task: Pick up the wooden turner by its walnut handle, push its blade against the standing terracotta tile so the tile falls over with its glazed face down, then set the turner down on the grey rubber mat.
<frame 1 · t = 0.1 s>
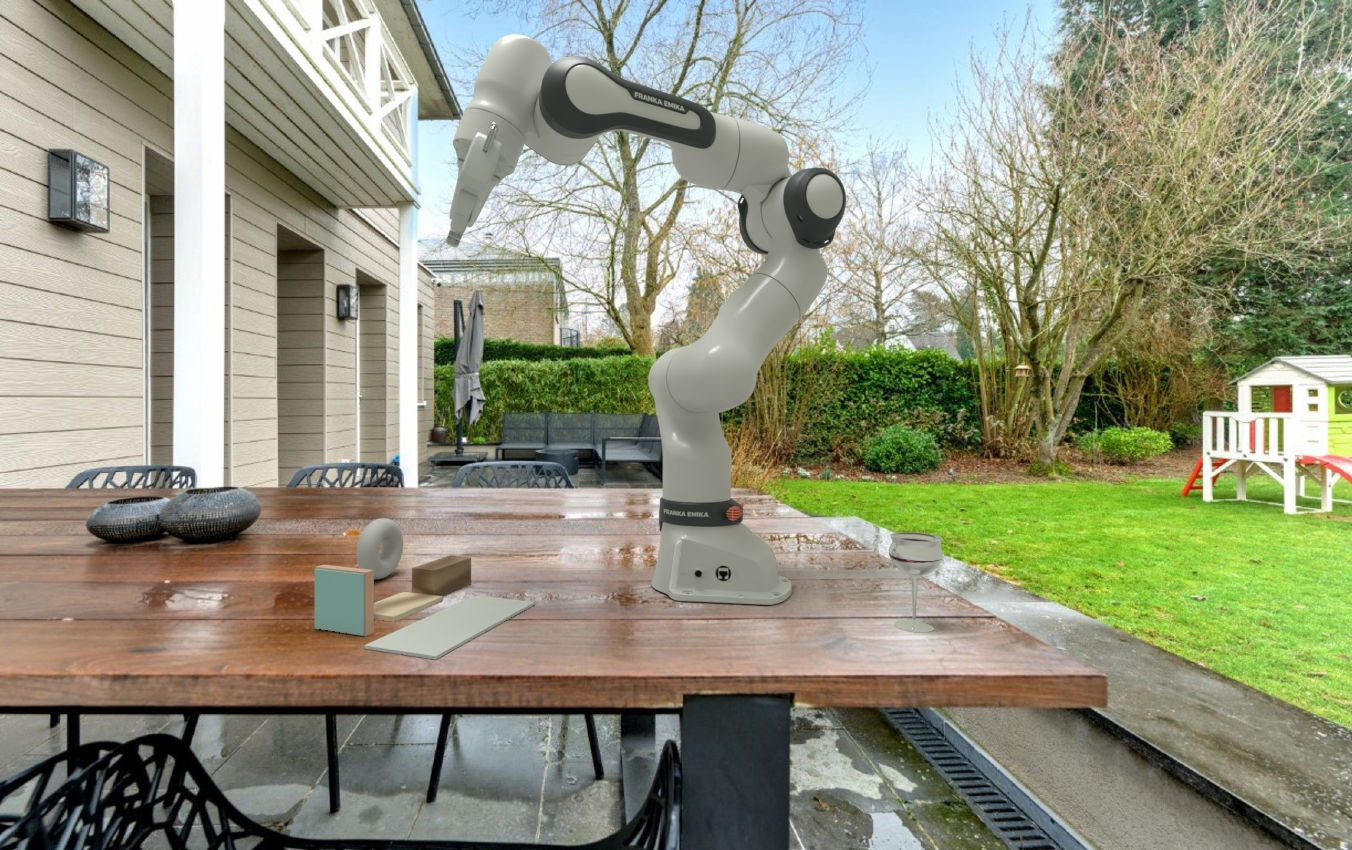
hand: (453, 237, 91), 52 cm above the table, tool tilted 20°, fingers open, 8 cm apart
turner: (442, 591, 102), on the table
tile: (343, 631, 83), on the table
wineglass: (913, 627, 88), on the table
mat: (458, 624, 86), on the table
donut: (380, 579, 108), on the table
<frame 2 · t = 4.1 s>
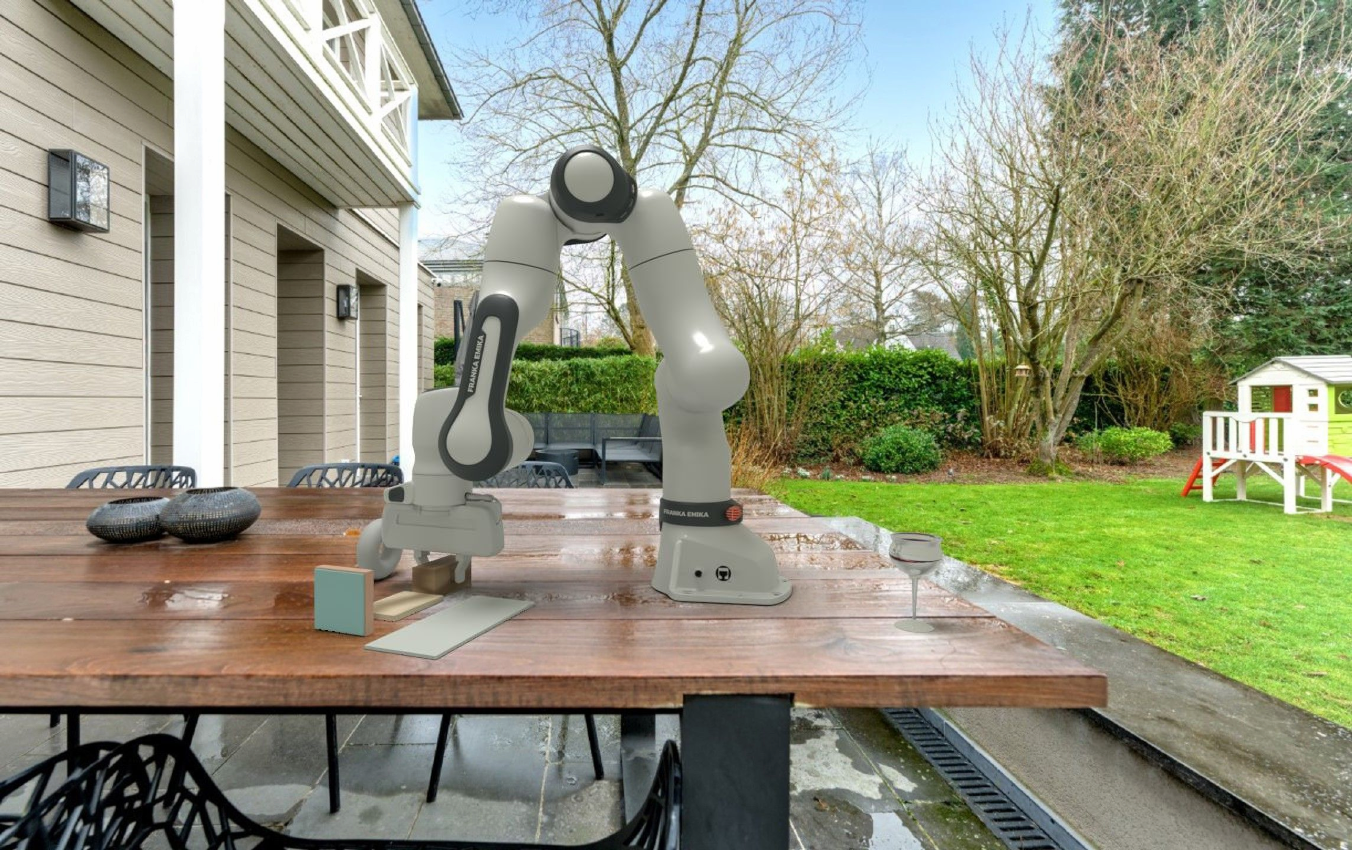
hand: (442, 580, 102), 2 cm above the table, tool pointing down, fingers closed on turner, 4 cm apart
turner: (442, 590, 102), on the table, touching gripper
everything else where it was.
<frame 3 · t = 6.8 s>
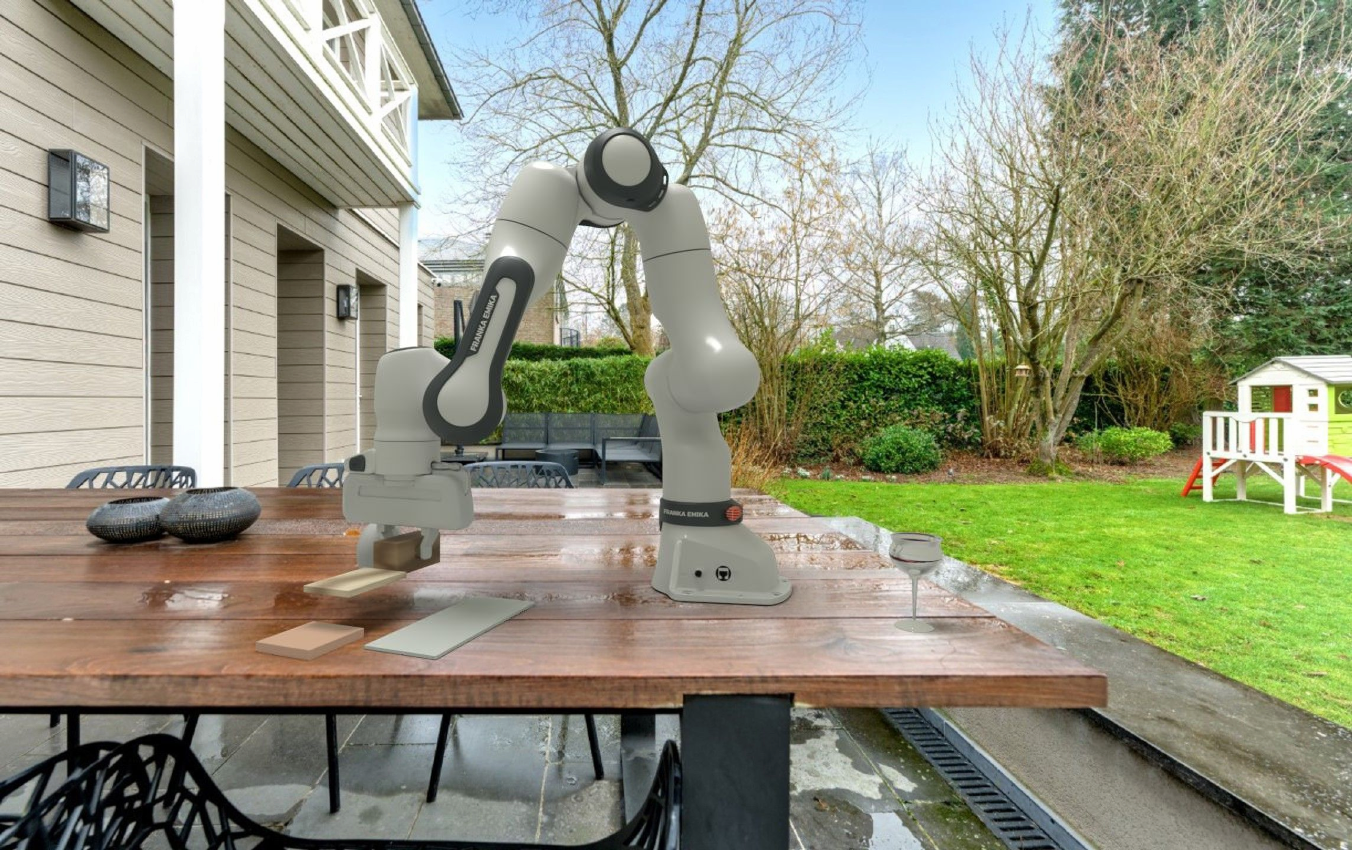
hand: (407, 556, 94), 7 cm above the table, tool pointing down, fingers closed on turner, 4 cm apart
turner: (408, 567, 94), point 5 cm above the table, touching gripper
tile: (338, 630, 82), on the table, tilted 90°
everything else where it was.
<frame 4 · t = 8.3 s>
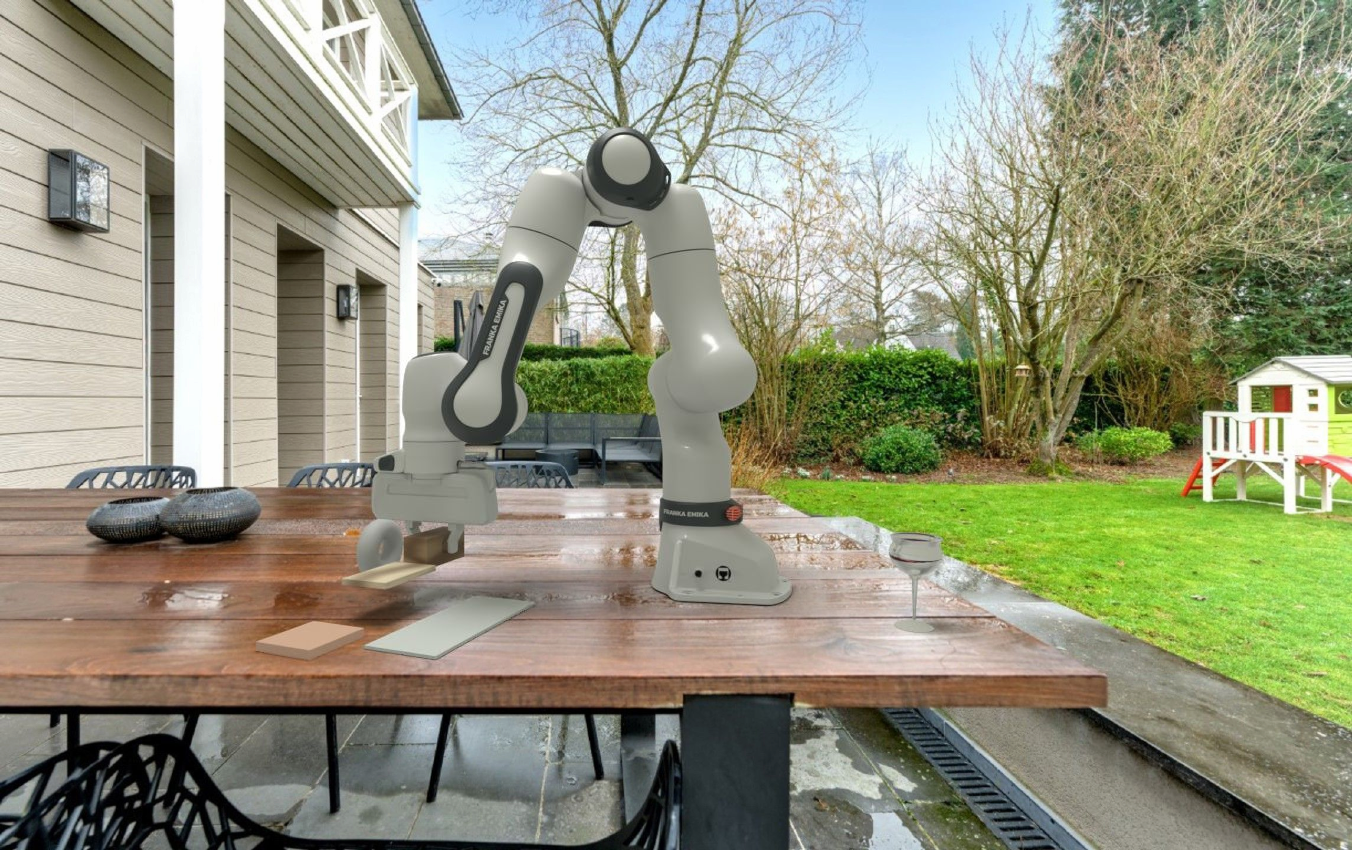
hand: (434, 551, 99), 7 cm above the table, tool pointing down, fingers closed on turner, 4 cm apart
turner: (435, 561, 99), point 5 cm above the table, touching gripper
everything else where it was.
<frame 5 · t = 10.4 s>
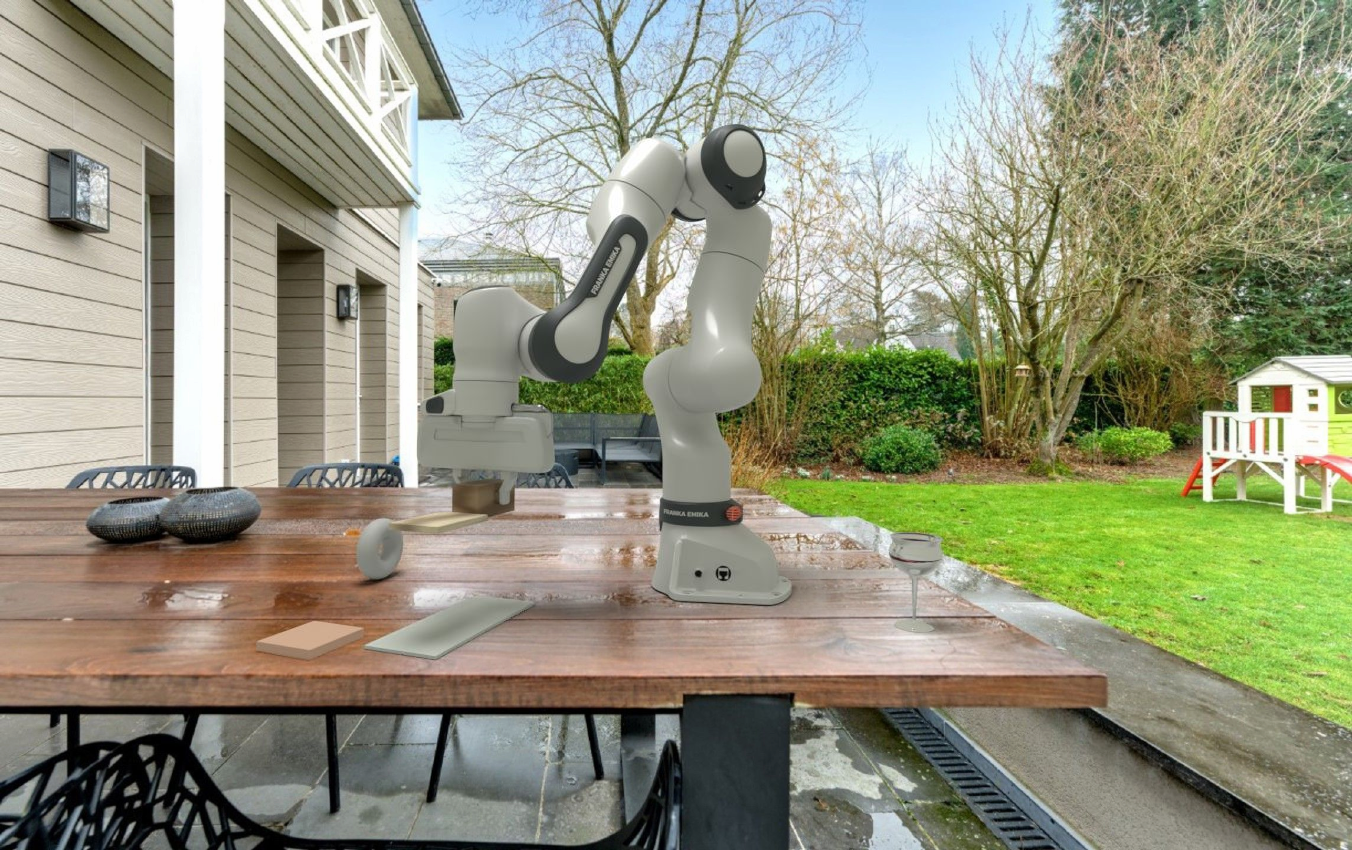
hand: (484, 502, 91), 15 cm above the table, tool pointing down, fingers closed on turner, 4 cm apart
turner: (484, 514, 91), point 14 cm above the table, touching gripper
everything else where it was.
when the fingers open (3 cm above the table, at t = 12.5 s): turner stays where it is, resting on mat.
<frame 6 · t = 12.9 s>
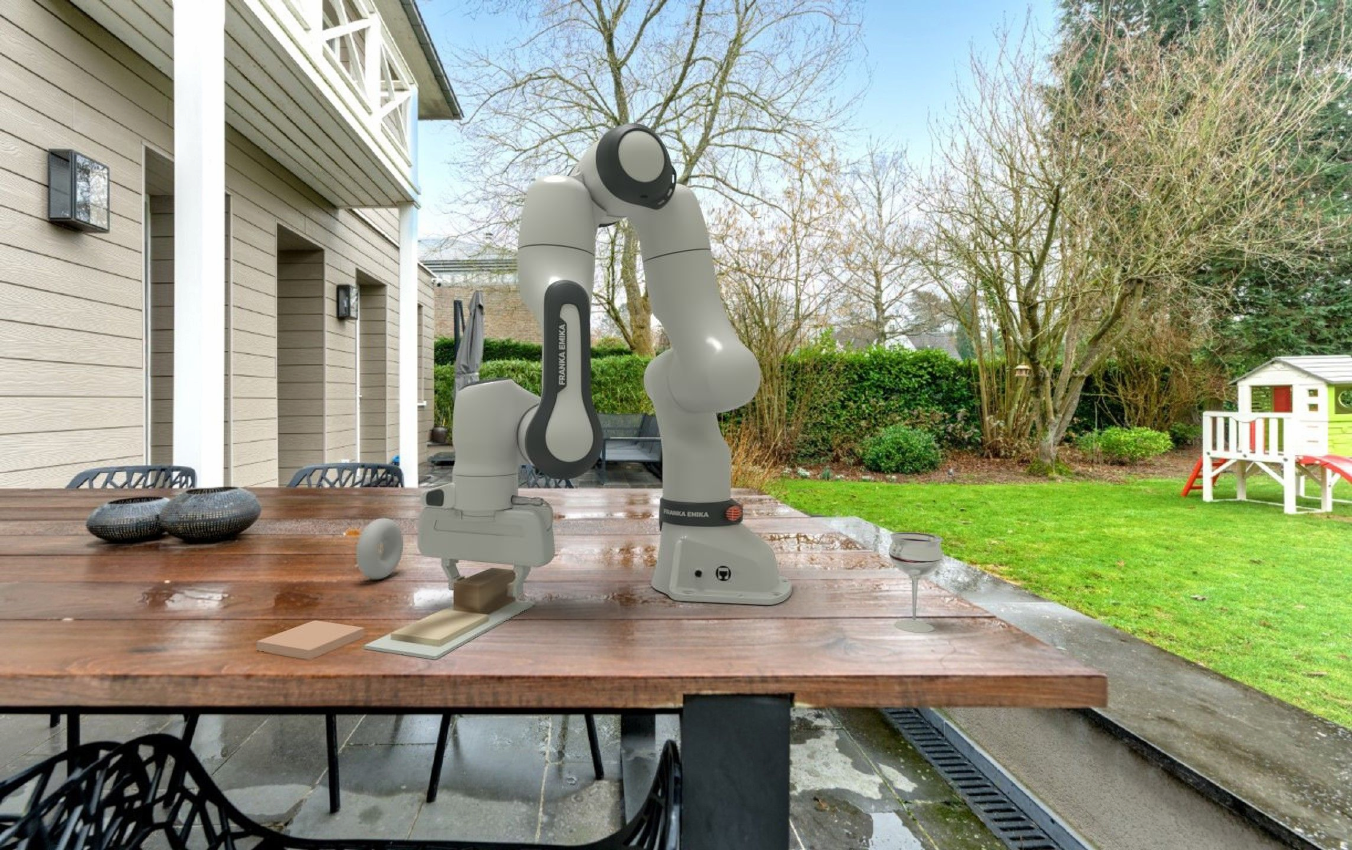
hand: (485, 592, 92), 3 cm above the table, tool pointing down, fingers open, 8 cm apart
turner: (485, 608, 92), resting on mat
everything else where it was.
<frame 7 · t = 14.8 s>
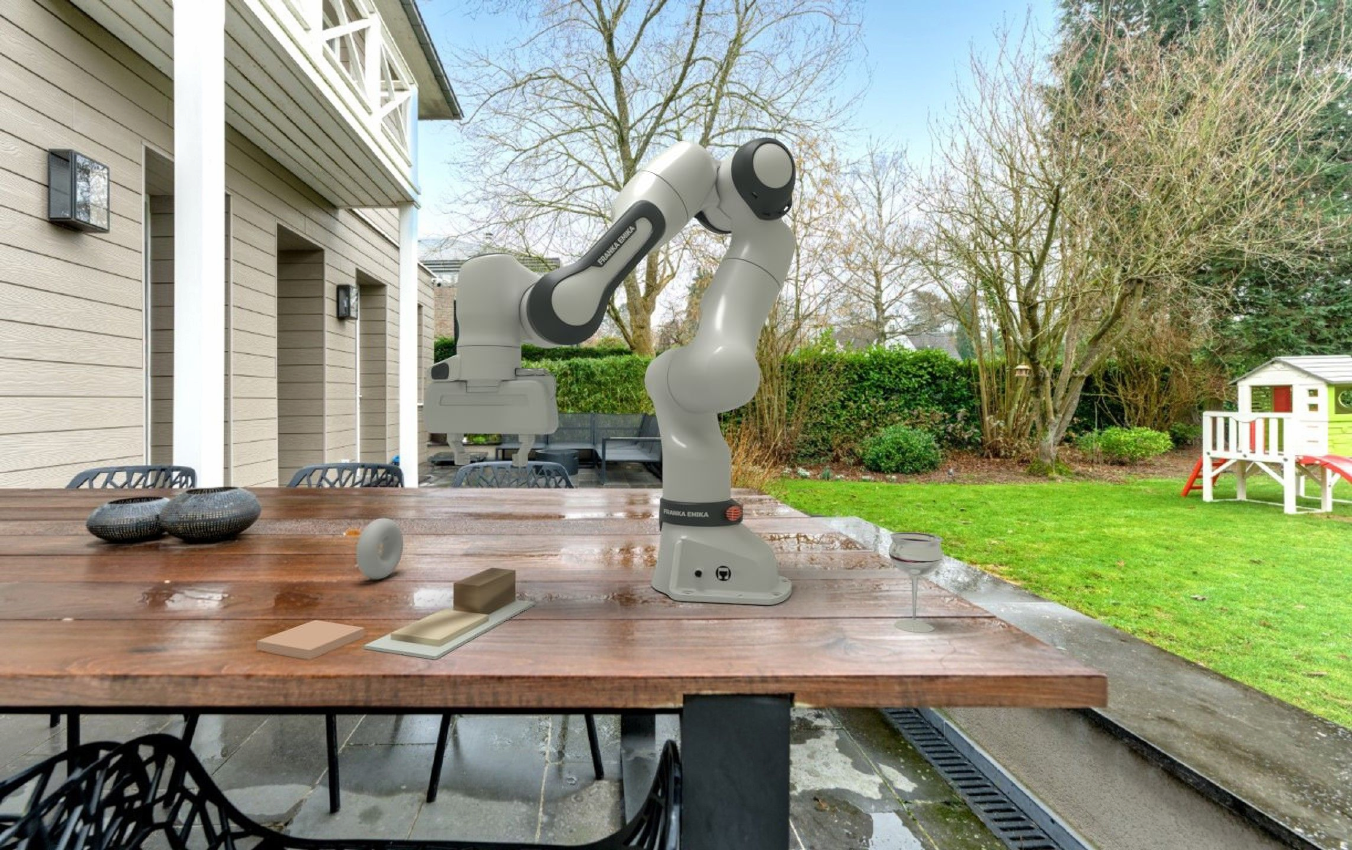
hand: (490, 465, 94), 20 cm above the table, tool pointing down, fingers open, 8 cm apart
nothing on the table moved.
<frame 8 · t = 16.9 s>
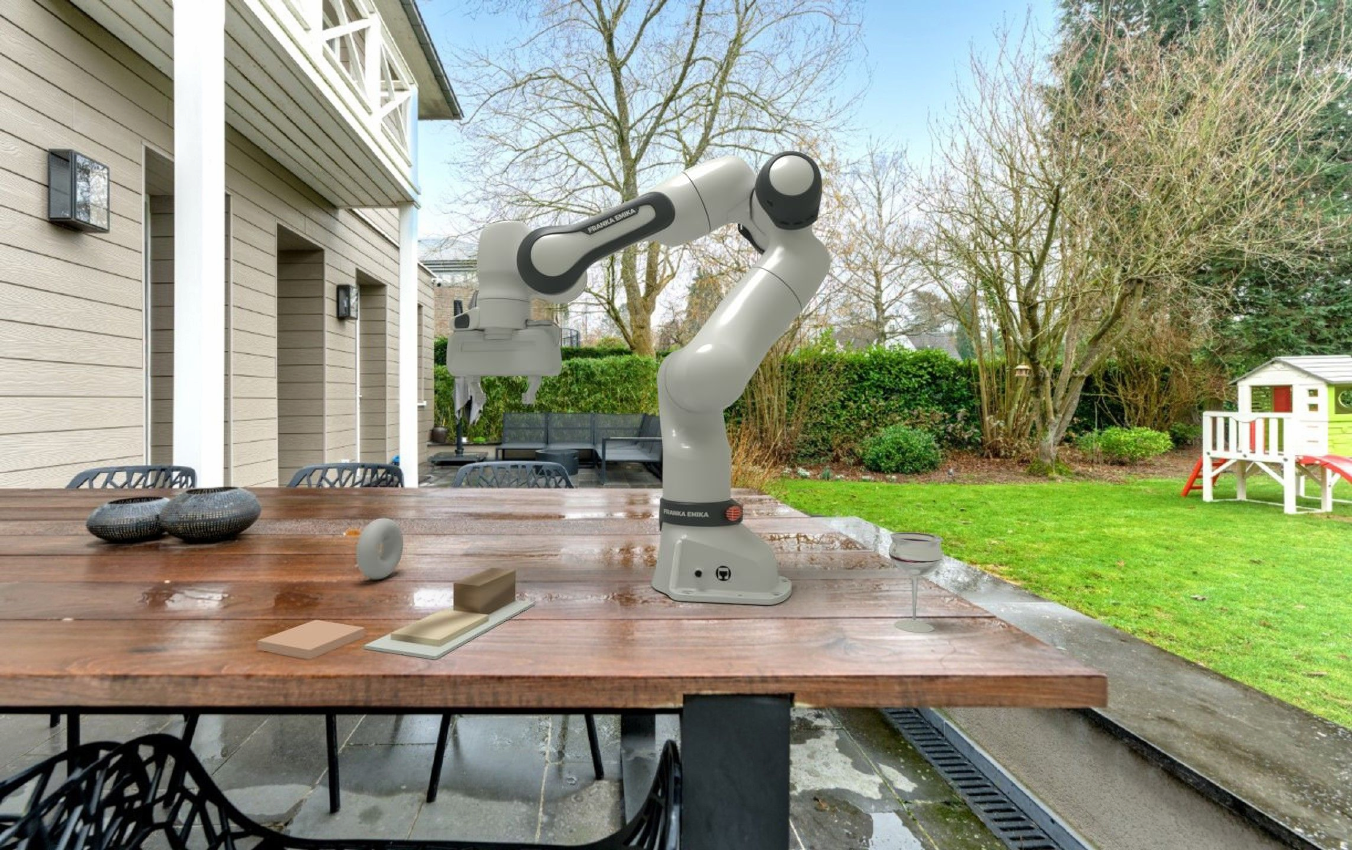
hand: (503, 403, 110), 29 cm above the table, tool pointing down, fingers open, 8 cm apart
nothing on the table moved.
at the end: tile tilted 90°; turner inside the target area (0.6 cm from its centre), resting on mat; the gripper is holding nothing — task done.
